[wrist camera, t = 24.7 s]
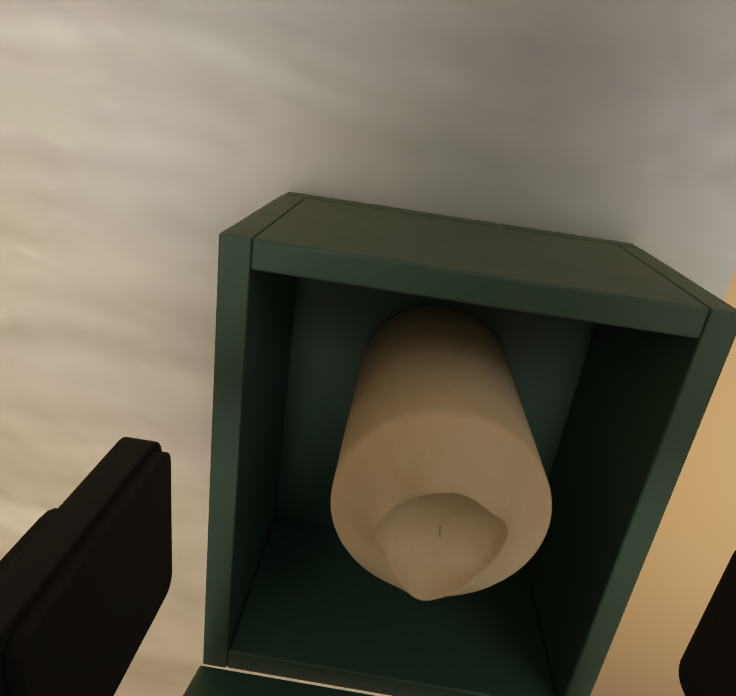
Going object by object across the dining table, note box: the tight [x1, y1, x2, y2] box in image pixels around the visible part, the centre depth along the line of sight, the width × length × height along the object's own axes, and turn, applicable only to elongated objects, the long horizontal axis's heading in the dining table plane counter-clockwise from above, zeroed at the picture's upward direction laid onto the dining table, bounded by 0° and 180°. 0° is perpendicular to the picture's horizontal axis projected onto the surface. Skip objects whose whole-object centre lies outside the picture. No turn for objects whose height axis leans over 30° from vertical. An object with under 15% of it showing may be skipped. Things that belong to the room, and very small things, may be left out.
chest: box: [203, 192, 736, 696], centre depth 20 cm, size 15×13×8 cm
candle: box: [331, 305, 552, 601], centre depth 18 cm, size 6×6×10 cm
